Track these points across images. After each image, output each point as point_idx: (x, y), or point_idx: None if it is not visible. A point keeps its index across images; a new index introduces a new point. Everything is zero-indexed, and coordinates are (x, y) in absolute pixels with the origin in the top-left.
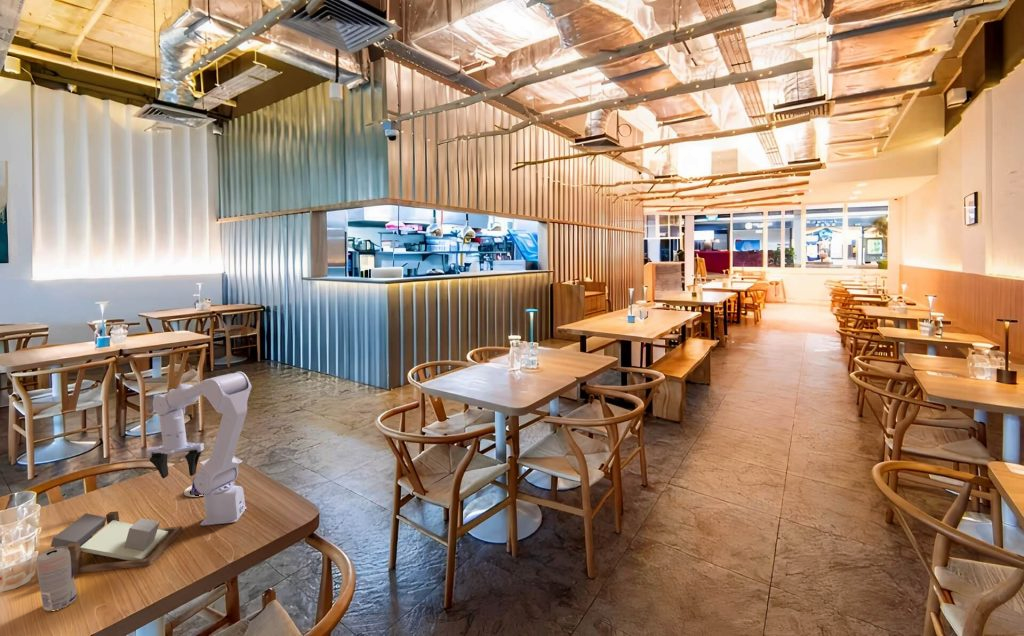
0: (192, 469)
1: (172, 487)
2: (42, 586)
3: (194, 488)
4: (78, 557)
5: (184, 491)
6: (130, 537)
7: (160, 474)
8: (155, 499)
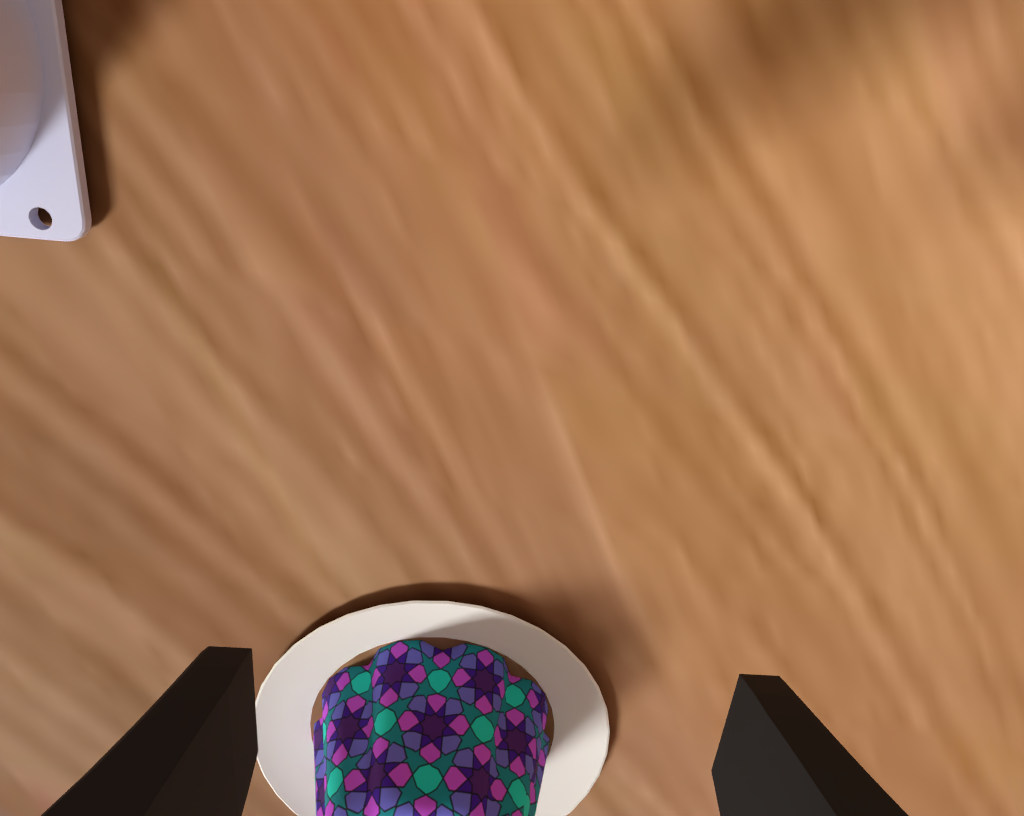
0: (111, 758)
1: None
2: None
3: (495, 709)
4: None
5: (604, 714)
6: None
7: (836, 740)
8: (826, 651)
